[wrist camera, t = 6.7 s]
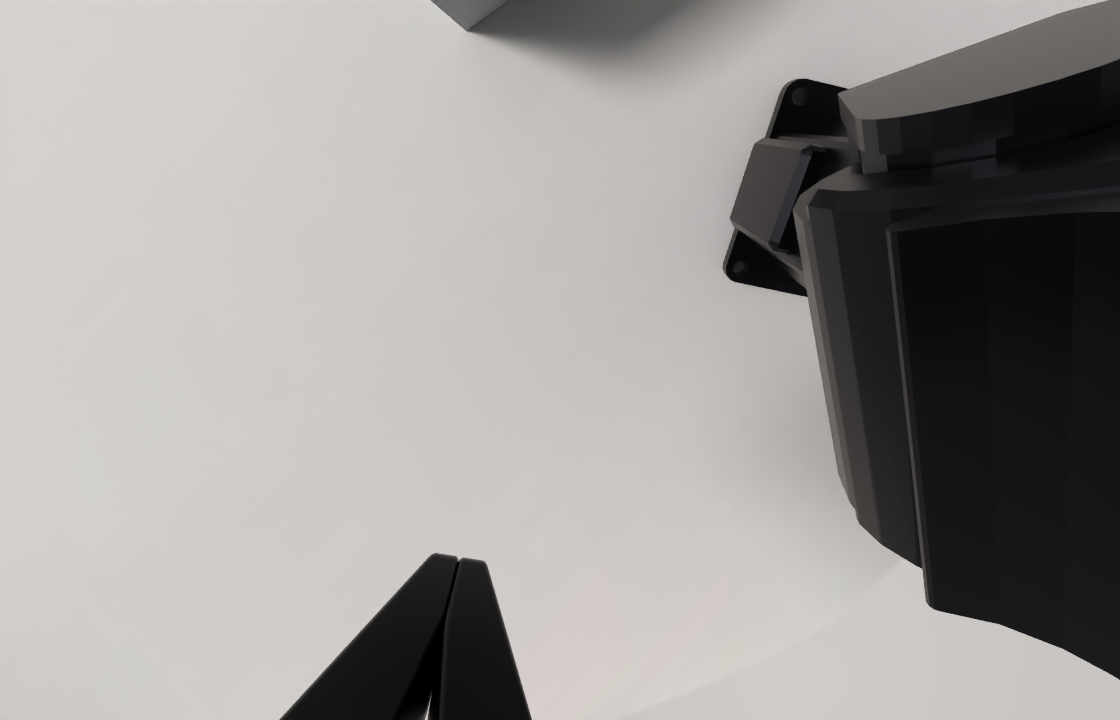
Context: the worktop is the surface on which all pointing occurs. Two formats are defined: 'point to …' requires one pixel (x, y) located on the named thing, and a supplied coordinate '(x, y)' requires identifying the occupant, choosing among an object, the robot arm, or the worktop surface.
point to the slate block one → (468, 10)
